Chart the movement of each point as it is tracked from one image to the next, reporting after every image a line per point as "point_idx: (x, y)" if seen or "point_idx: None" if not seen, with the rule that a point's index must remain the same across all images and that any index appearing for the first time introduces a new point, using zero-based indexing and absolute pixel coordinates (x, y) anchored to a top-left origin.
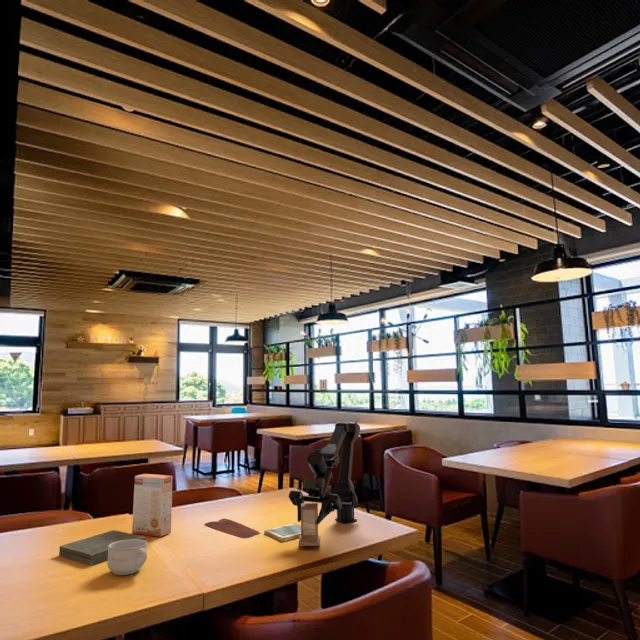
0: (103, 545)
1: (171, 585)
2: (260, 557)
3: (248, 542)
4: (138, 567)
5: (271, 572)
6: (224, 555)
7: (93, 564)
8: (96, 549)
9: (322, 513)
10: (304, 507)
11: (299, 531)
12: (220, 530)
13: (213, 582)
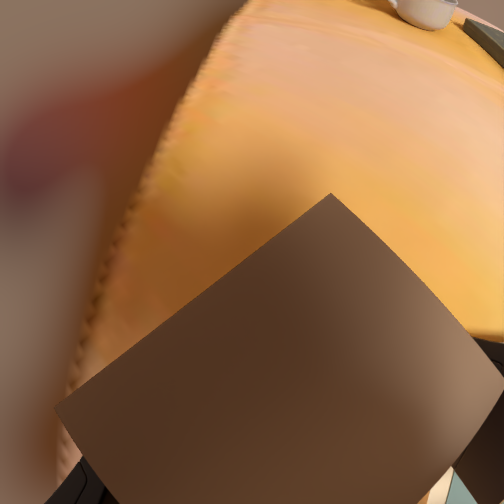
0: (498, 37)
1: (310, 9)
2: (332, 150)
3: (500, 232)
4: (391, 5)
5: (187, 103)
6: (420, 111)
7: (464, 30)
8: (483, 26)
9: (81, 466)
10: (273, 242)
11: (459, 478)
12: None
13: (263, 30)
